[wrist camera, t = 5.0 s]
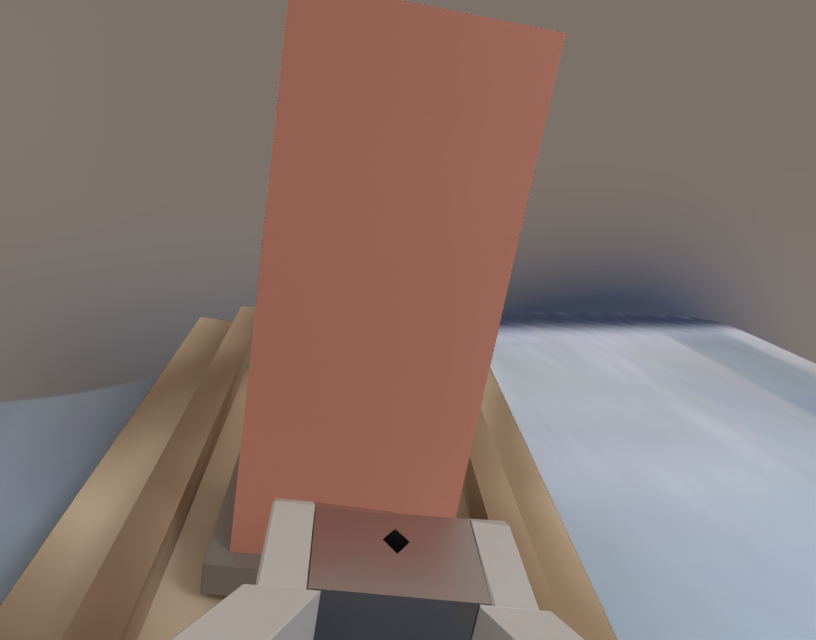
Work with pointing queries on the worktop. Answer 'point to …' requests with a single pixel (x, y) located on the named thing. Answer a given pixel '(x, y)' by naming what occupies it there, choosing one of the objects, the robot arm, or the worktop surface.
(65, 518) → the tan flat ridged board
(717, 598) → the worktop surface
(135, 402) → the worktop surface
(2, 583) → the worktop surface
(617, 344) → the worktop surface
